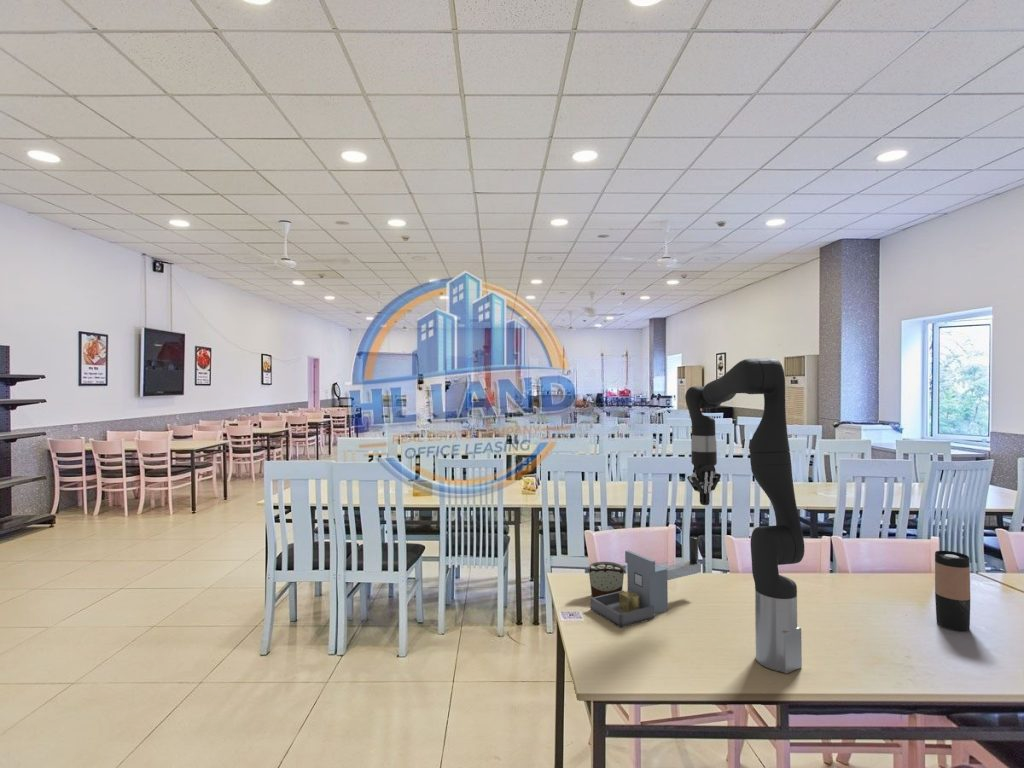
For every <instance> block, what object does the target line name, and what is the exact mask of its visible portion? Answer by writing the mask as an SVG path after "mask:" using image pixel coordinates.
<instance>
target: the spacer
mask: <svg viewBox="0 0 1024 768" xmlns="http://www.w3.org/2000/svg"><path fill="white" fill-rule="evenodd" d="M619 608H620V609H622V610H624V611H626V612H629V611H633V610H637V609H639V595H637V594H635V593H633V592H631V591H628V590H625V592H621V593H619Z"/></svg>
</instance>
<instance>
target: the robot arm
mask: <svg viewBox="0 0 1024 768" xmlns="http://www.w3.org/2000/svg"><path fill="white" fill-rule="evenodd" d="M785 375H786V374H785V371H784V367H783V365H782V363H781V362H780V360H778V359H776V358H771V357H770V358H768V357H766V358H746V359H745V358H744V359H743V360H741V361H739V362H737V363H736V364H735V365H734V366H732V367H731V369H729V370H728V371H727V372H726V373H724V374H723V375H722V376H721V377H718V378H716V379H714V380H712V381H710V382H708V383H707V384H705V386H691V387H689V388H688V389H687V390H686V393H685V396H684V398H685V403H686V406H687V409H688V414H689V418H690V421H691V441H690V442H691V443H690V446H691V447H690V448H691V454H690V455H691V456H690V457H691V464H692V465H693V469H692V474H691V475H687V480H688V482H689V484H690V486H691V487H692V489H693V490H694V491H695V492H697V493H699V503H700V505H702V506H709V505H710V501H711V500H710V493H711V492H712V491H715V489H716V487H717V486H718V484H719V481H720V479H721V477H722V474H720V473H717V471H716V468H715V466H716V465H717V464H718V462H717V461H718V459H717V455H718V453H717V451H718V450H717V449H718V448H717V446H718V445H717V439H716V420H715V418H714V417H712V416H709V415H708V416H707V415H704V414H703V413H702V411H701V409H703V410H705V409H709V410H710V409H716V408H719V407H720V406H721V404H723V403H725V402H728V401H730V400H732V399H733V398H734V397H735V396H736V395H737V394H747V395H763V414H762V417H761V420H760V421H759V424H758V425H757V428H756V430H755V431H754V433H753V435H752V437H751V439H750V443H749V447H748V449H749V459H750V469H751V473H752V475H753V478H754V479H755V480H756V482H757V484H758V485H759V487H760V488H761V489H762V491H763V492H764V493H765V494H766V496H767V498H768V500H770V502H771V505H772V509H773V512H774V516H775V524H776V525H762V526H758V527H757V526H756V527H755V528H754V529H753V530H752V531H751V535H750V554H751V555H750V556H751V558H750V559H751V573H752V574H751V575H752V578H753V581H754V598H755V599H754V602H755V603H754V604H755V605H754V607H755V608H754V609H755V611H754V612H755V616H754V617H755V618H754V620H755V621H754V622H755V623H754V624H755V629H754V630H755V659H756V662H758V664H760V665H761V666H763V667H765V668H767V669H769V670H773V671H776V672H781V673H782V674H788V673H792V672H793V671H796V670H799V669H802V667H803V665H802V664H803V663H802V662H803V661H802V659H803V657H802V654H803V652H802V650H803V649H802V628H801V627H800V626H798V587H797V583H796V582H795V581H794V580H793V579H791V578H789V577H787V576H784V575H781V574H779V573H780V572H779V566H782V565H795V564H799V563H800V562H802V560H803V558H804V555H805V540H804V534H803V530H802V529H803V528H802V524H801V520H800V516H799V512H798V506H797V500H796V494H795V488H794V480H793V468H792V459H791V450H790V449H791V448H790V443H789V437H788V436H789V435H788V427H787V426H788V425H787V415H786V414H787V413H786V376H785Z"/></svg>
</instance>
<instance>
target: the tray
mask: <svg viewBox="0 0 1024 768" xmlns="http://www.w3.org/2000/svg"><path fill="white" fill-rule="evenodd" d="M621 592H626V590H622V591H618V592H614V593H610V594H606V595H601V596H597V597H593V598H592V597H590V610H591V611H592V612H594V613H595V614H597V615H599V616H600V617H602V618H604V619H605V618H606V619H605V620H607V621H608V620H609V621H608V622H610V623H612V624H613V623H614V625H615V626H617V627H618V626H619V627H618V628H620V629H622V628H626V627H628V626H632V624H633V625H636V624H639V623H643V622H647V621H650V619H651V620H654V619H655V615H654V606H648V607H645V608H639V609H637V610H633V611H629V612H626V611H624V610H622V609H620V608H619V593H621ZM653 618H654V619H653ZM646 620H647V621H646ZM625 626H626V627H625Z"/></svg>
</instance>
